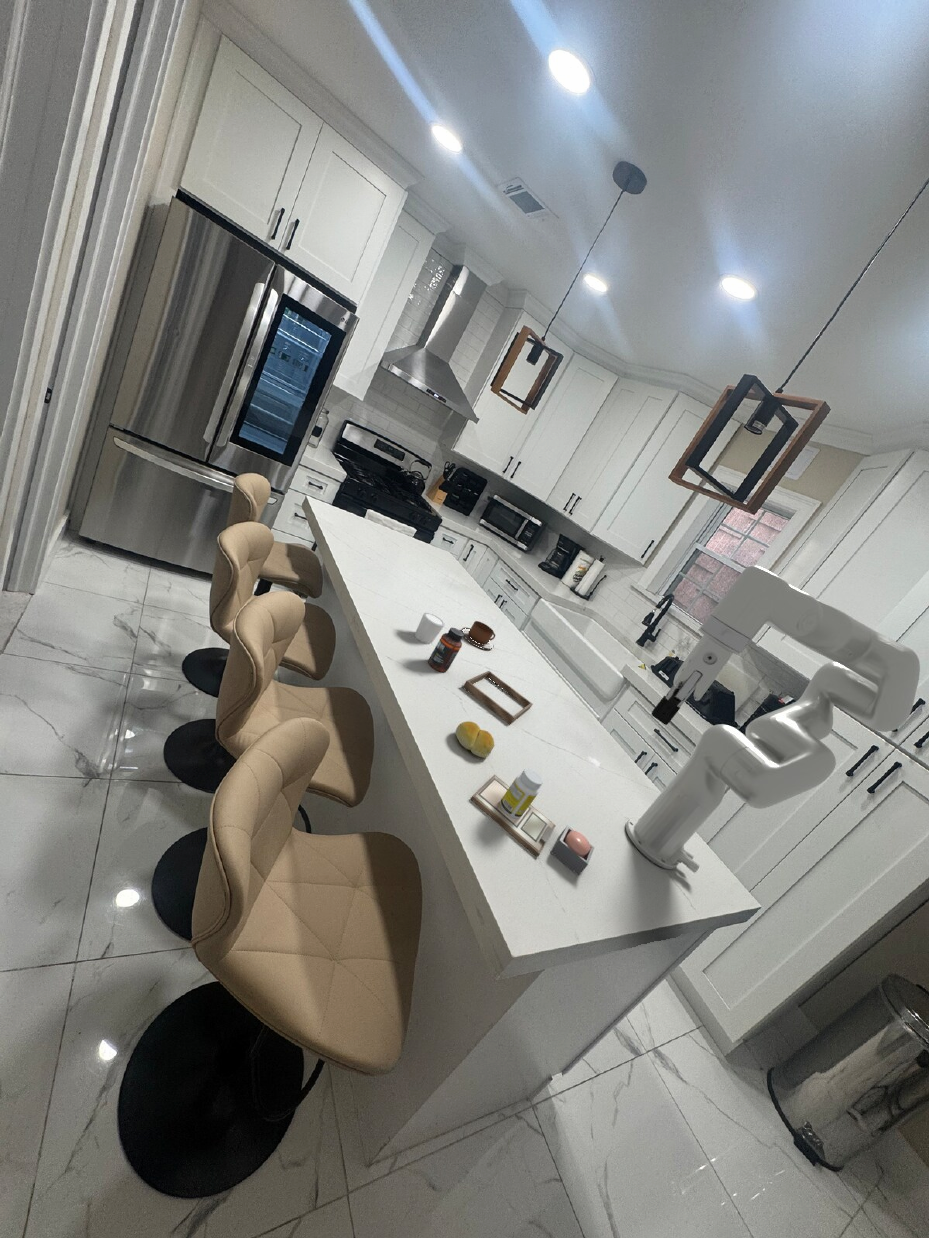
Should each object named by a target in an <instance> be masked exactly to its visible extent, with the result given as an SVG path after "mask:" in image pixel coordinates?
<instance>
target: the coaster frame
mask: <svg viewBox="0 0 929 1238" xmlns="http://www.w3.org/2000/svg"><path fill="white" fill-rule="evenodd" d="M485 677H486V678H487V677H488V678H490V679H491V680H492V681H494V682H495V683H496V684H498V685H499V686H500V687H501V688H503V689H502V690H503V692H505V691H506V692H505V693H507V694H508V695H510V697H512V698H513V699H514V700H516V701H517V702H518V703H520V704H521V705H522V706H524V707H523V708H522V709H521V710H519V711H518V712H517V713H516V714H514V715H513V714H511V713H510V712H509V711H507V710H506V709H505V708H504V707H502V706H501V705H500V704H499V703H497V702H496V701H495V700H493V699H492V698H491V697H490V696H489V695H487V694H486V693H484V692H483V691H482V690H481V689H480V688H478V687H477V686H475V684H476V682H477V683H478V682H480V681H482V680H484V679H486V678H485ZM483 678H484V679H483ZM488 678H487V679H488ZM490 679H489V680H490ZM491 680H490V681H491ZM492 681H491V682H492ZM474 683H475V684H474ZM495 683H494V684H495ZM496 684H495V685H496ZM499 686H498V687H499ZM500 687H499V688H500ZM462 688H463V689H464V688H465V689H466V690H465V689H464V690H465V691H466V692H468V691H469V692H468V693H469V694H470V695H471V696H473V697H474V698H475V699H476V700H478V701H479V702H481V704H483V705H484V706H485V707H487V708H488V709H489V708H490V709H489V710H490V711H492V712H493V713H494V714H496V715H497V716H498V717H499V718H501V719H502V720H503V721H505V722H506V723H507V724H509V725H512V724H513V723H515V721H517V720H519V718H520V717H522V716H523V715H524V714H526V713H527V711H529V710H530V709H531V708H532V706H533V705H534V704H533V703H532V701H530V700H528V698H526V697H524V696H523V695H522V694H521V693H520V692H518V691H517V690H515V689H514V688H513V687H512V686H510V685H508V684H507V683H506V682H505V681H503V680H502V679H500V678H499V677H498V676H497V675H496V674H494V673H493V672H492V671H490V670H487V671H485V672H482V673H480V674H478V675H476V676H475V677H474V676H473V677H472V678H469V679H468V680H465V682H464V683H463V686H462ZM501 688H500V689H501Z"/></svg>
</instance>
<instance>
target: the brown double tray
mask: <svg viewBox="0 0 929 1238" xmlns="http://www.w3.org/2000/svg"><path fill="white" fill-rule="evenodd" d="M509 787H510V786H509V785H508V784H507V783H505V782H504V781H503V780H502V779H501V778H500V777H498V776H497V775H496V774H495V773H494V774H493V775H492V776H491V777H490V778H489V779H488V780H487V781H486V782H485V783H484V784H483V785H482V786H481V787H480V788H479V789H477V791H476V792H475V793H474V794H473V795H472V796H471V797H470V800H471V801H472V802H473V803H474V804H475V805H476V806H478V807H479V808H480V809H481V810H483V811H484V813H486V814H487V815H488V816H489V817H490V818H491V819H493V820H494V821H495V822H496V823H497V824H498V825H500V826H501V827H502V828H503V829H504V830H505V831H506V832H508V834H510V835H511V836H512V837H514V839H515V840H517V841H519V843H520V844H521V845H523V846H524V847H525V848H526V849H527V850H528V851H530V853H532V854H533V855H534V856H535V857H536V858H538V857H539V856H540V855H541V853H542V852H543V850H544V848H545V845H546V844H547V842H548V840H549V839H550V838H551V837H550V836H551V835H552V833H553V832H554V830H555V828H556V826H557V825H556V824H555V823H553V822H552V821H551V820H550V819H549V818H548V817H546V816H545V815H544V814H543V813H541V812H540V811H539V810H538V809H537V808H536V807H534V806H533V804H532V803H531V804H530V806H529V807H528V808H527V810H526V811H525V813H524V814H523V815H522V817H521V818H518V819H516V818H512V817H510V816H509V815H507V814H506V813H505V812H504V811H503V810H502V808H501V805H500V801H501V799H502V798H503V796H504V795H505V793H506V792H507V790H508V789H509Z"/></svg>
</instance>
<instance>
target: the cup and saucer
mask: <svg viewBox="0 0 929 1238" xmlns="http://www.w3.org/2000/svg"><path fill="white" fill-rule="evenodd" d="M465 628H466V629H470V631H467V632H468V637H467V636H466V634H465V632H463V631H462V630H463V629H465ZM461 632H462V633H463V635H464V636H465V637H466V638H467V639H468V640H469V641H470V642H472V643H473V644H475V645H477V646H479V647H482V648H485V649H490V647H489V648H487V647H484V646H483V645H479V644H477V643H480V644H485V645H488V644H489V643H488V642H489V640H490V641H493V640H494V639H495V638H496V633H495V632H494V630H493V629H492V628H491V626H489V625H487V624H486V623H484V622H481V621H478V620H475V621H474V622H473V624H472V626H471V627H462V628H461ZM464 636H463V637H464ZM469 637H471V638H472V640H474V641H476V642H477V643H475V642H473V641H472V640H471V639H470V638H469ZM469 641H468V642H469ZM470 642H469V643H470ZM473 644H472V645H473ZM475 645H474V646H475ZM479 647H478V648H479ZM493 648H494V645H493ZM491 650H492V648H491Z"/></svg>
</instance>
